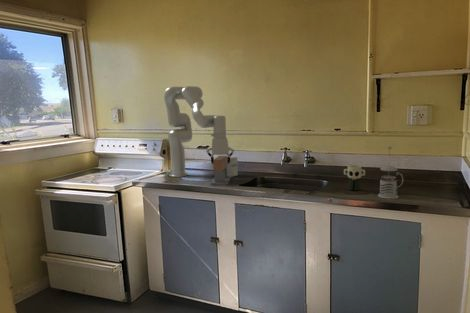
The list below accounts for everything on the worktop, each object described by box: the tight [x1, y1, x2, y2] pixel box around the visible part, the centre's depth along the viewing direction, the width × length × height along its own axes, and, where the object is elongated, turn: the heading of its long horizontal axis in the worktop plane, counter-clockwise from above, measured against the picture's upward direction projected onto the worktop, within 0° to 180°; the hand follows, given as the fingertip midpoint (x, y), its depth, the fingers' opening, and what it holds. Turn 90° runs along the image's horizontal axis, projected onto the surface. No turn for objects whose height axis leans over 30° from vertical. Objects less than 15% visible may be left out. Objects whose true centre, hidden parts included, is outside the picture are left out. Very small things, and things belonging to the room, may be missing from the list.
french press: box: [377, 145, 404, 199], centre depth 186 cm, size 10×12×25 cm
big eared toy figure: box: [343, 164, 366, 191], centre depth 203 cm, size 11×7×13 cm, turn 69°
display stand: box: [210, 167, 232, 186], centre depth 235 cm, size 10×22×8 cm, turn 176°
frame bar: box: [212, 155, 228, 172], centre depth 234 cm, size 5×18×7 cm, turn 171°
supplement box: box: [227, 156, 239, 178], centre depth 253 cm, size 7×7×13 cm
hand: (220, 163), depth 234 cm, fingers open, 9 cm apart
